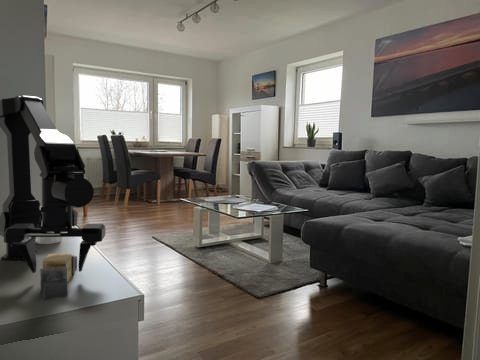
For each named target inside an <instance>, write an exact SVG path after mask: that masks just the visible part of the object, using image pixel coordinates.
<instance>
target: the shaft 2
mask: <svg viewBox="0 0 480 360" xmlns="http://www.w3.org/2000/svg"><path fill="white" fill-rule="evenodd" d="M77 268H78V256H77V255H75V254H71V275H72V276H74V275H75V274H76V273H75V271H76V270H77Z"/></svg>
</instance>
